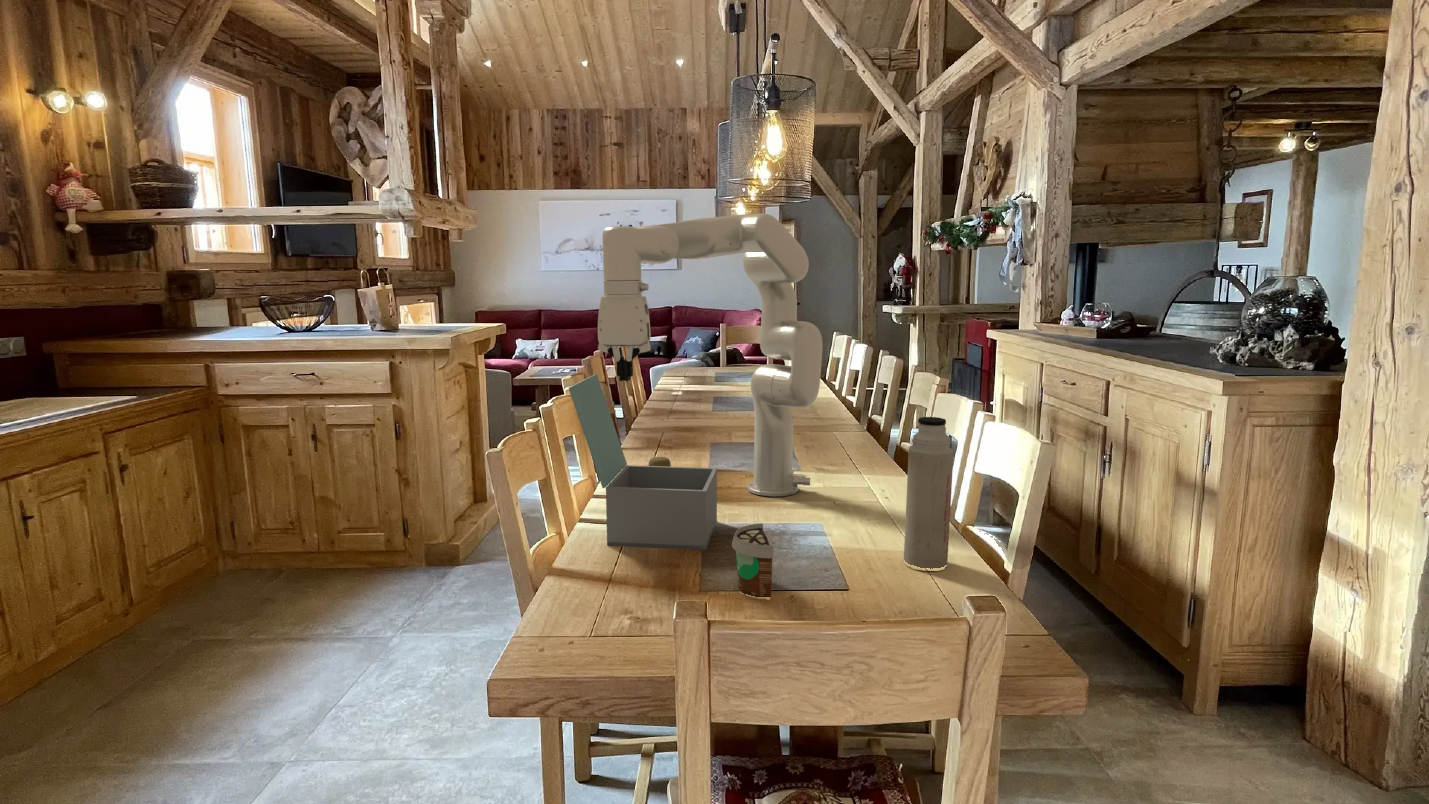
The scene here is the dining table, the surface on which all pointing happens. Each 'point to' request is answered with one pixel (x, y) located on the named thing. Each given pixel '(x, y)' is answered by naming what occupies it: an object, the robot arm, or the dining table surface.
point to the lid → (598, 428)
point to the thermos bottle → (928, 495)
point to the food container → (753, 560)
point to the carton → (662, 507)
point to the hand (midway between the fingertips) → (625, 379)
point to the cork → (659, 461)
